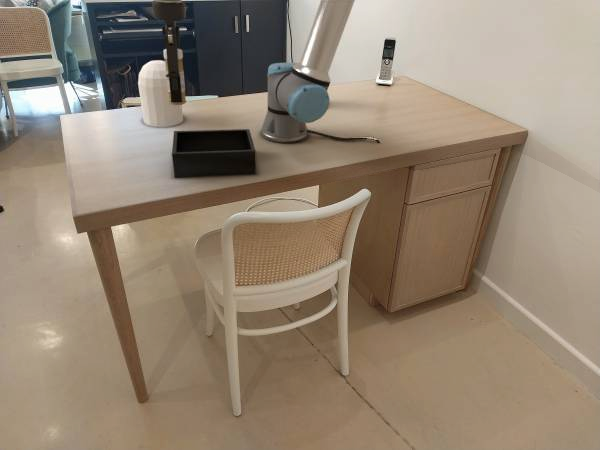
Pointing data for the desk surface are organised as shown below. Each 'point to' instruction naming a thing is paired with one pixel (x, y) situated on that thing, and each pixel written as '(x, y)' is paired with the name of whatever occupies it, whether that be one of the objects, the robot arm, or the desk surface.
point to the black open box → (213, 153)
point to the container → (157, 96)
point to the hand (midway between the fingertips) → (176, 98)
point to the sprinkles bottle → (180, 77)
